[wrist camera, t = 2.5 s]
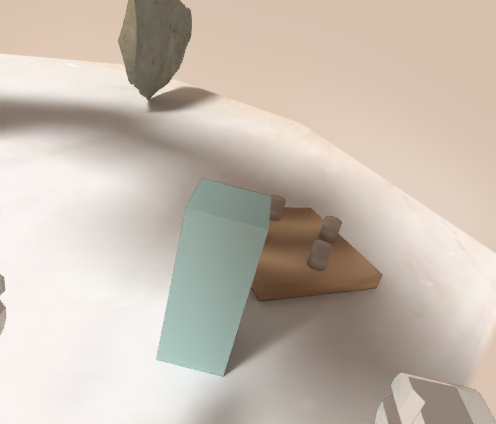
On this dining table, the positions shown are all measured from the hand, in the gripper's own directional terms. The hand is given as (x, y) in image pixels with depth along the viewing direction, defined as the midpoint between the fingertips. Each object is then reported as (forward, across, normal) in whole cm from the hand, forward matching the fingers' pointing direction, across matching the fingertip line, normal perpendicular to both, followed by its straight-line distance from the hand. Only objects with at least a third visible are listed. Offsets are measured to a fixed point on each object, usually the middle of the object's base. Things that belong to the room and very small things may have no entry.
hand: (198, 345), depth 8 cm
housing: (+26, -5, +12) cm, 30 cm away
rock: (+70, +22, +12) cm, 74 cm away
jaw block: (+13, 0, +12) cm, 18 cm away
